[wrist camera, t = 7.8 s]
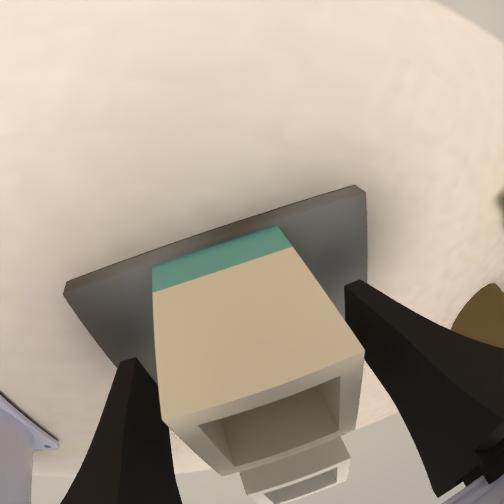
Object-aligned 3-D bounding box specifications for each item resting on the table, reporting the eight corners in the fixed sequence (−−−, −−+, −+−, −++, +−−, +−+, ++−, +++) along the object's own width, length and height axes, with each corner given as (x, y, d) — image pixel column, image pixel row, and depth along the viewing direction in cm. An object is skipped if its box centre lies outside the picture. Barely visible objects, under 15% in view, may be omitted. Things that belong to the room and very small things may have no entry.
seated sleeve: (238, 424, 18) (265, 509, 13) (216, 388, 15) (246, 495, 11) (308, 399, 19) (346, 480, 14) (301, 359, 16) (351, 457, 11)
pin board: (183, 430, 18) (194, 488, 15) (66, 282, 11) (43, 366, 8) (356, 369, 20) (386, 419, 16) (354, 185, 12) (424, 236, 9)
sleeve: (193, 349, 14) (221, 476, 9) (151, 266, 11) (161, 419, 6) (293, 315, 14) (355, 429, 9) (277, 225, 11) (365, 349, 7)
